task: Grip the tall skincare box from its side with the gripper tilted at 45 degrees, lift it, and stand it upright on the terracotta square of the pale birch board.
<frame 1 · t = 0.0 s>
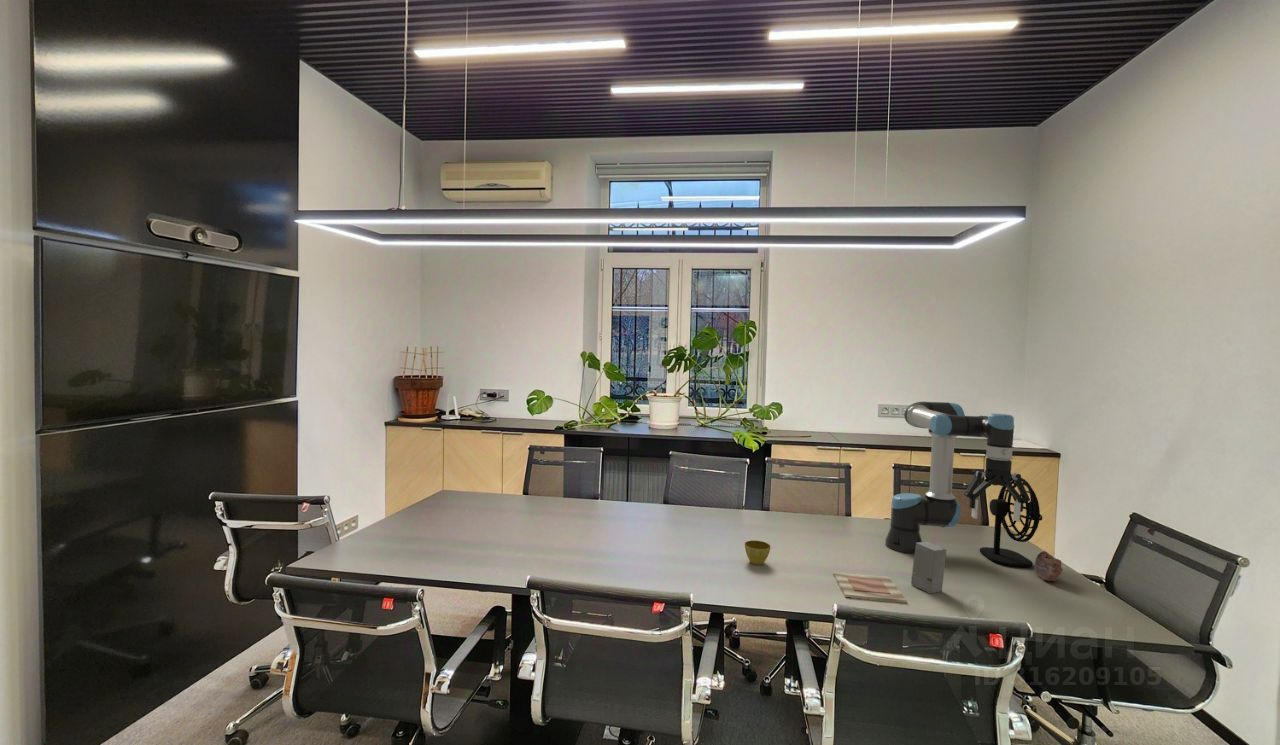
hand: (995, 519, 193), 28 cm above the table, tool pointing down, fingers open, 13 cm apart
flower pot: (756, 563, 220), on the table
skincare box: (927, 588, 201), on the table
stone: (1051, 580, 213), on the table
desk fan: (1007, 559, 234), on the table
seat board: (867, 588, 199), on the table
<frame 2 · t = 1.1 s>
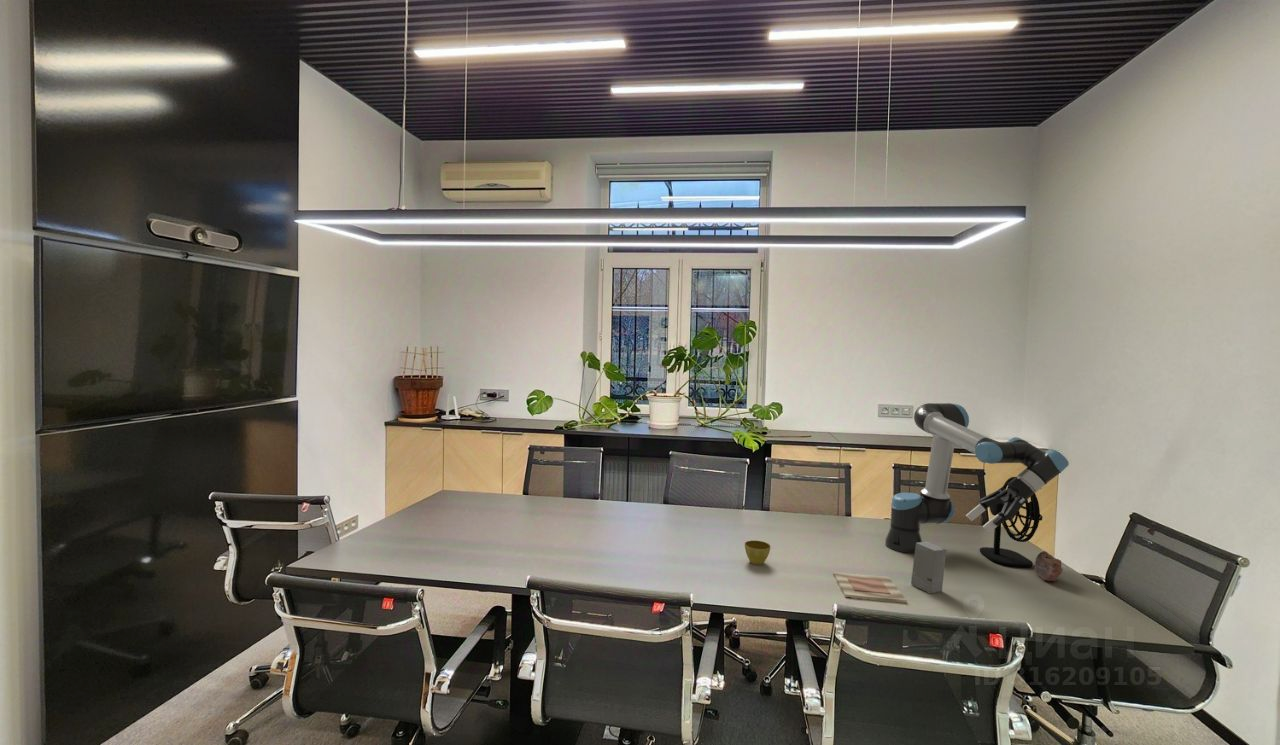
hand: (976, 523, 198), 25 cm above the table, tool tilted 45°, fingers open, 13 cm apart
nothing on the table moved.
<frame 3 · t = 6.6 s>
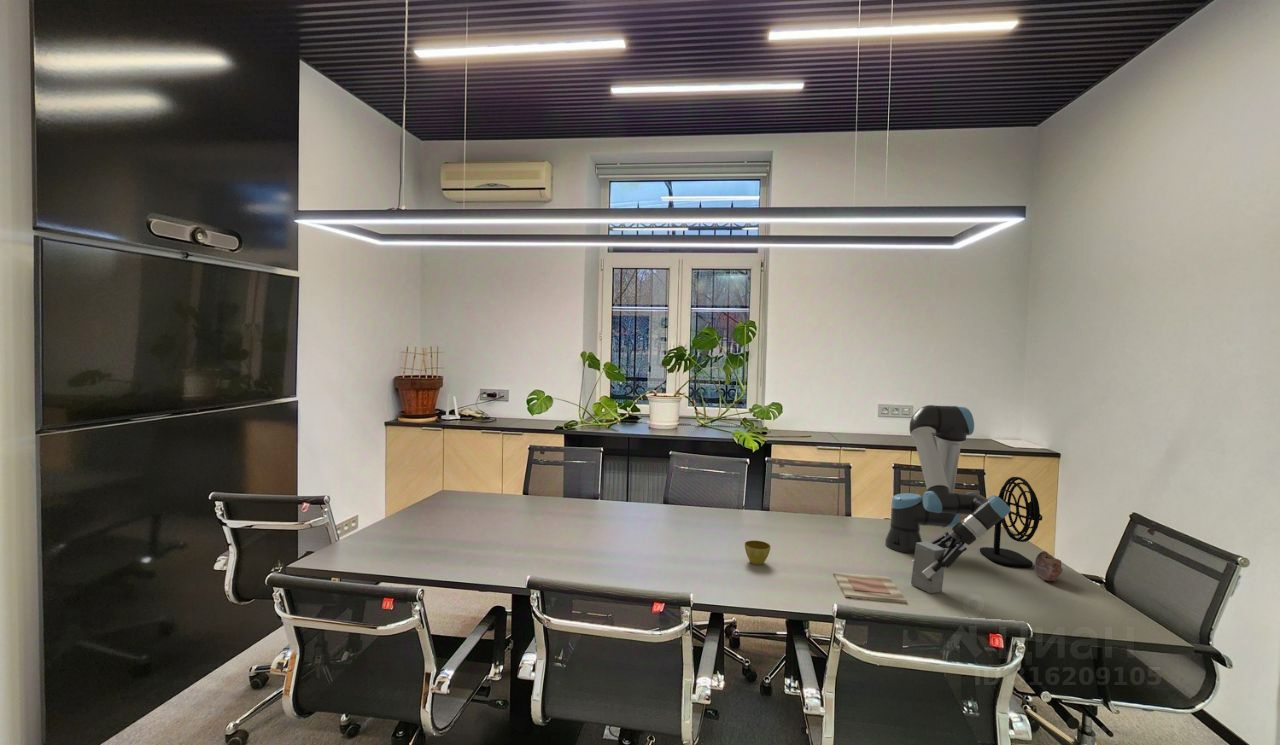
hand: (919, 569, 201), 7 cm above the table, tool tilted 45°, fingers closed on skincare box, 10 cm apart
skincare box: (927, 588, 201), on the table, touching gripper
everything else where it was.
when the fingers open (9 cm above the table, at t = 14.8 s): skincare box drops 1 cm, resting on seat board.
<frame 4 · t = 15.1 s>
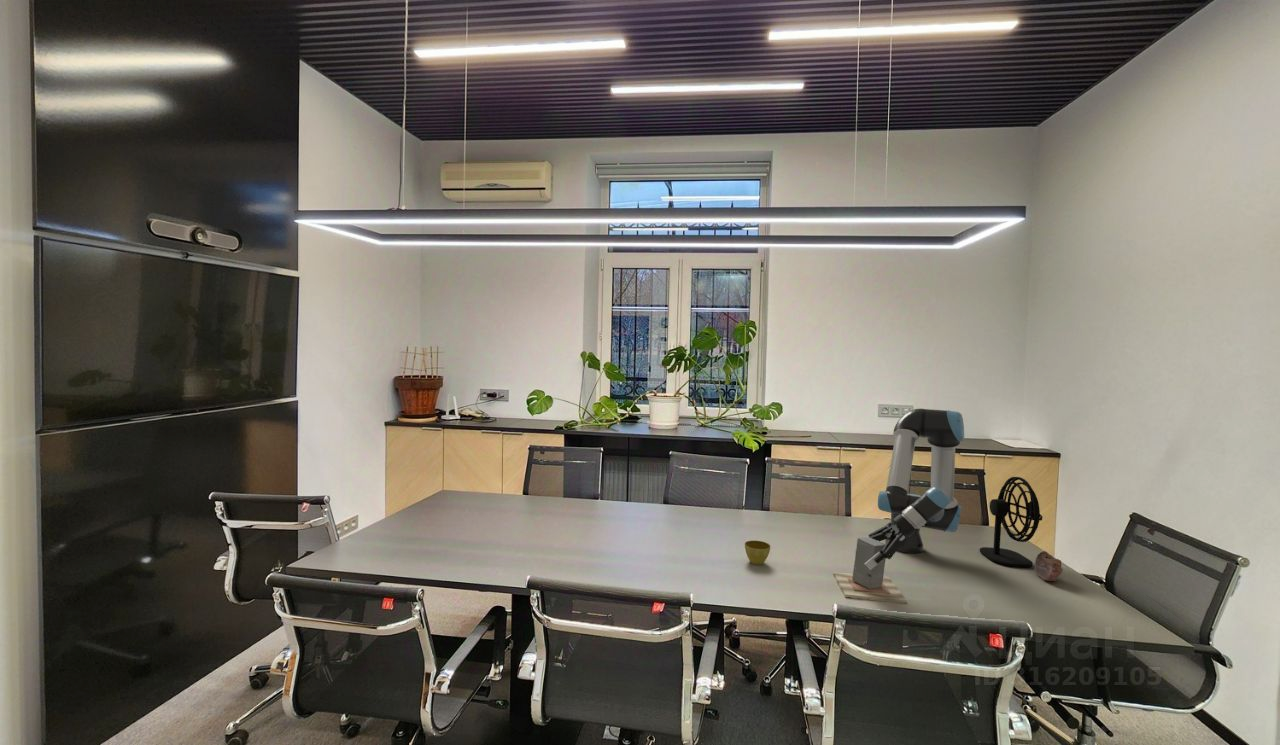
hand: (862, 559, 199), 10 cm above the table, tool tilted 45°, fingers open, 13 cm apart
skincare box: (868, 584, 199), point 1 cm above the table, touching seat board
everything else where it was.
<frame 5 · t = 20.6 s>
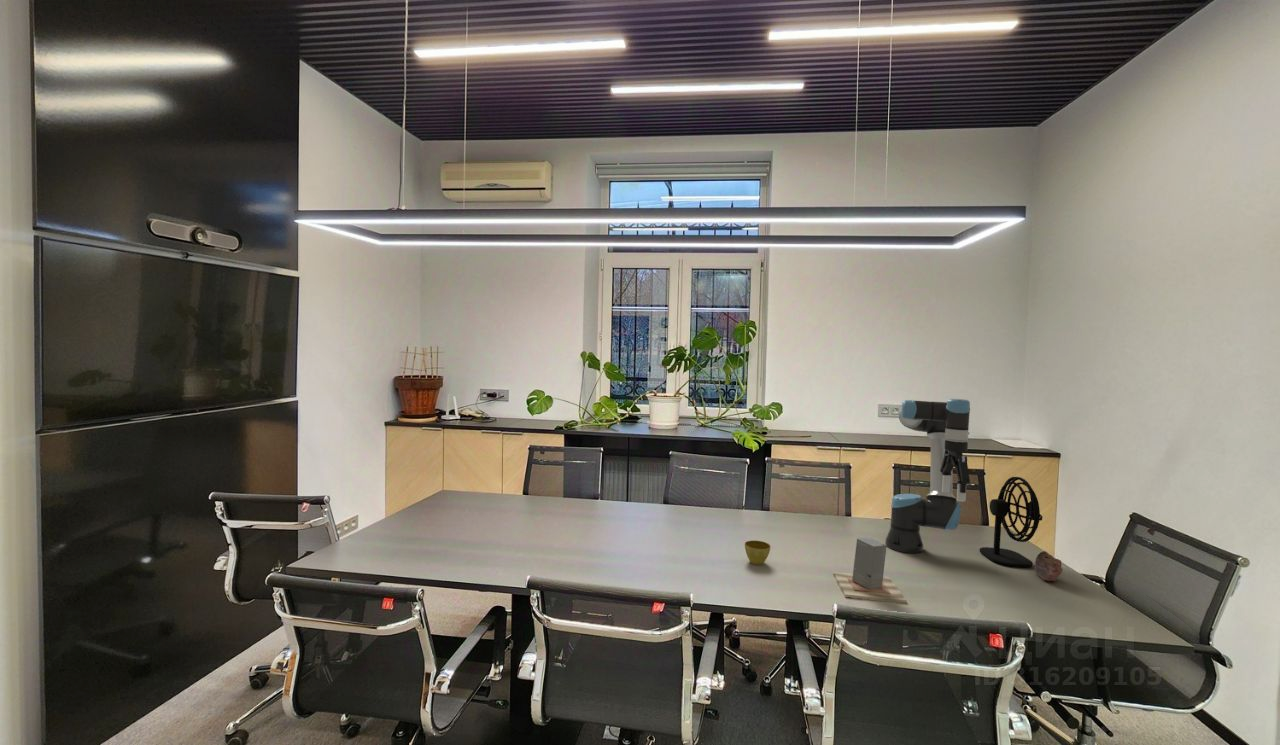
hand: (953, 496, 208), 32 cm above the table, tool pointing down, fingers open, 13 cm apart
nothing on the table moved.
at the end: skincare box inside the target area on the seat board (0.1 cm from its centre), point 1.1 cm above the seat board's base; skincare box tilted 0°; the gripper is holding nothing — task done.
